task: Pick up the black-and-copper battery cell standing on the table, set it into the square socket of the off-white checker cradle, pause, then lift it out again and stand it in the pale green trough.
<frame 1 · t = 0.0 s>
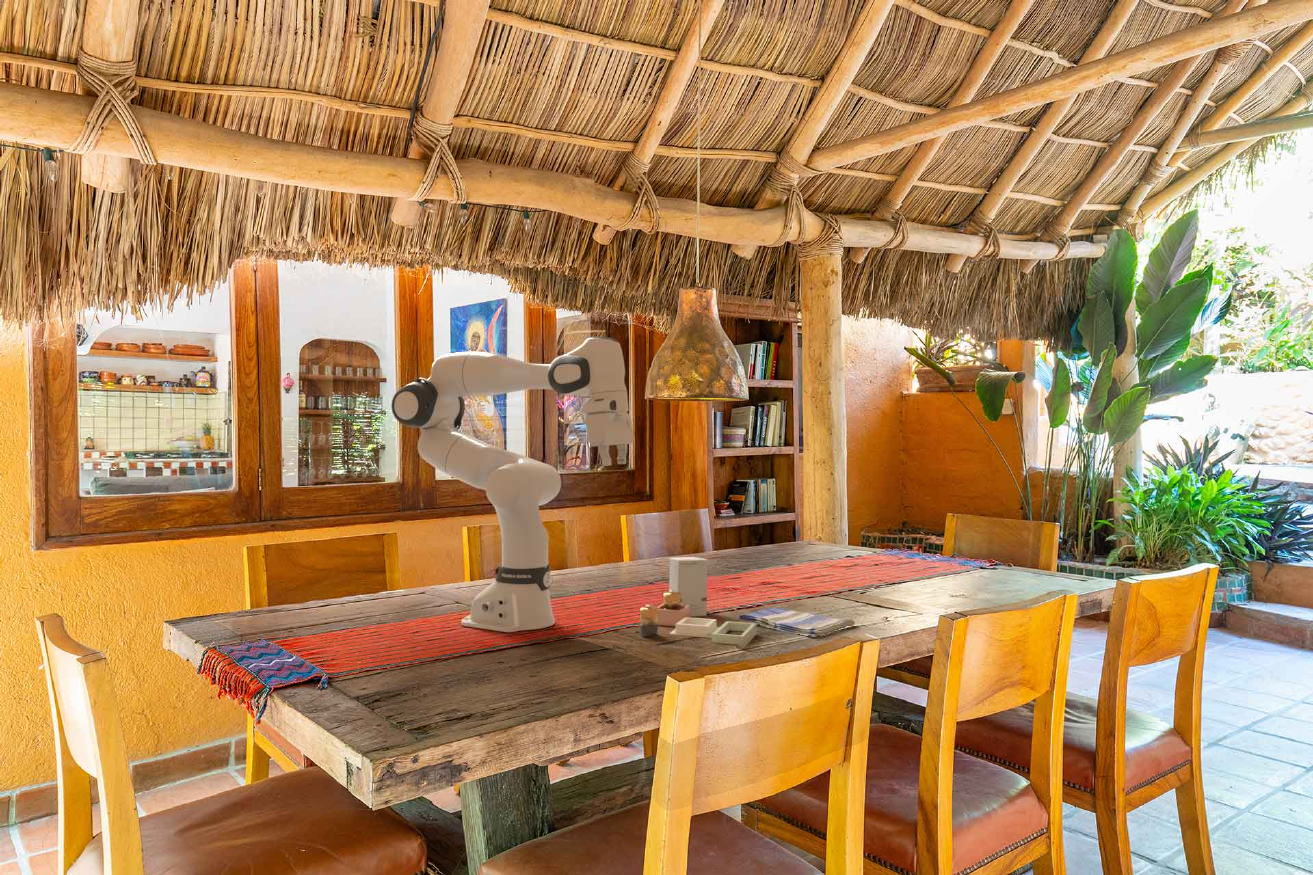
hand: (614, 464, 201), 39 cm above the table, tool pointing down, fingers open, 8 cm apart
dish towel: (796, 627, 209), on the table
cell b: (672, 622, 208), point 1 cm above the table, touching pink open box
cell a: (649, 638, 195), on the table
trough: (734, 640, 194), on the table
cradle: (696, 634, 199), on the table
pink open box: (672, 625, 208), on the table
skincare box: (687, 617, 217), on the table
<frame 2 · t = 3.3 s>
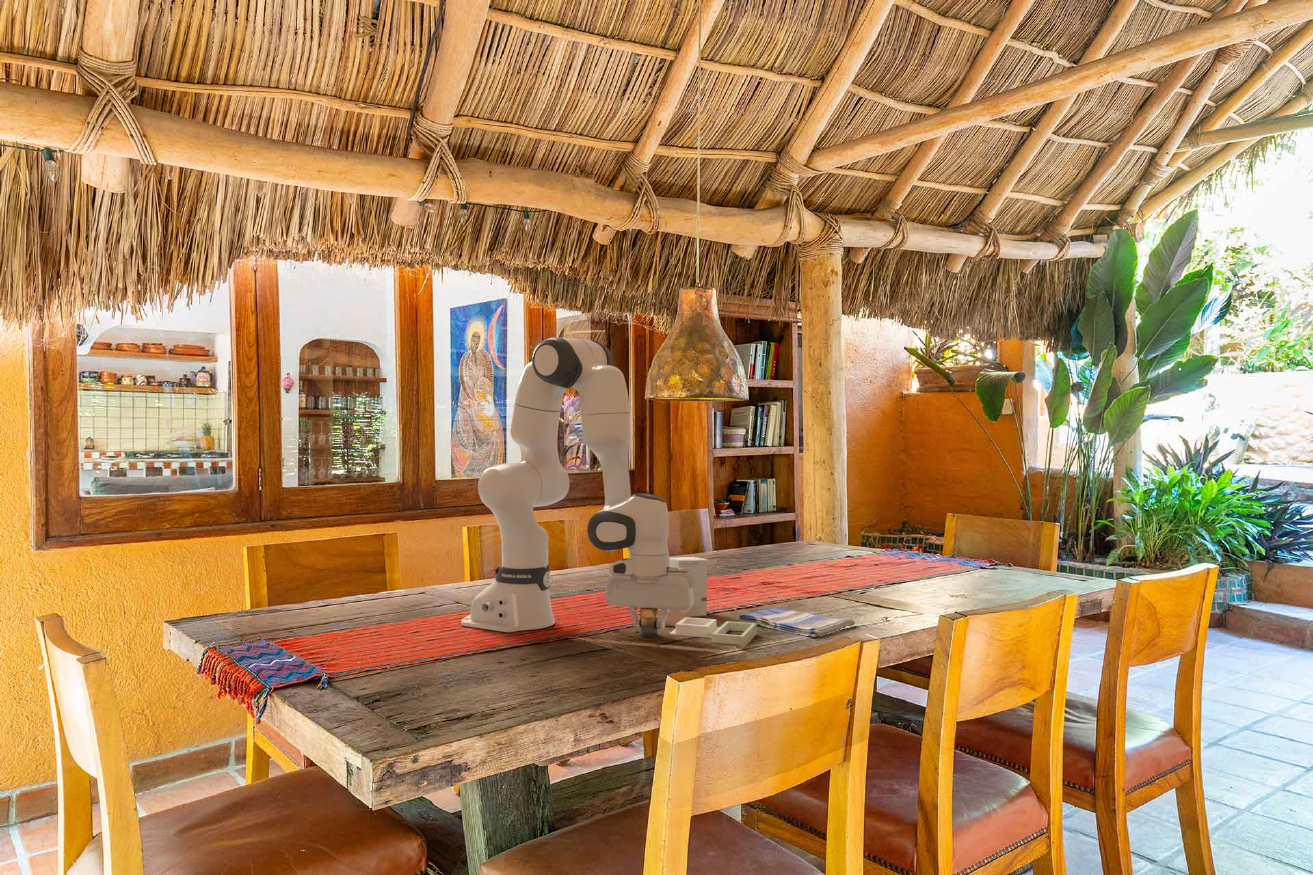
hand: (649, 627, 195), 3 cm above the table, tool pointing down, fingers closed on cell a, 4 cm apart
cell a: (649, 638, 195), on the table, touching gripper
everything else where it was.
when the fingers open (5 cm above the table, at t = 8.0 s): cell a stays where it is, resting on cradle.
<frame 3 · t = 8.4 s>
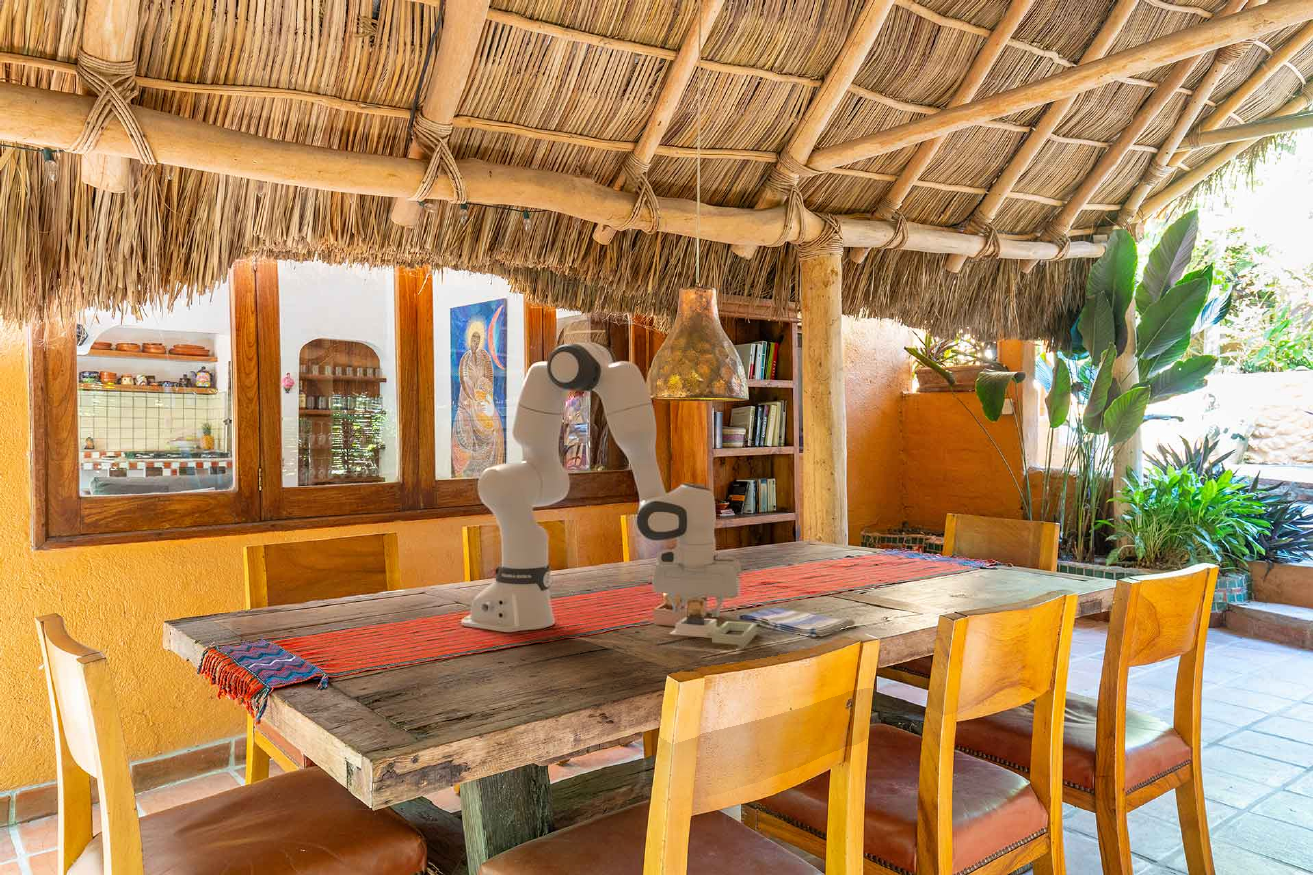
hand: (696, 614, 199), 5 cm above the table, tool pointing down, fingers open, 8 cm apart
cell a: (695, 630, 199), point 1 cm above the table, touching cradle
everything else where it was.
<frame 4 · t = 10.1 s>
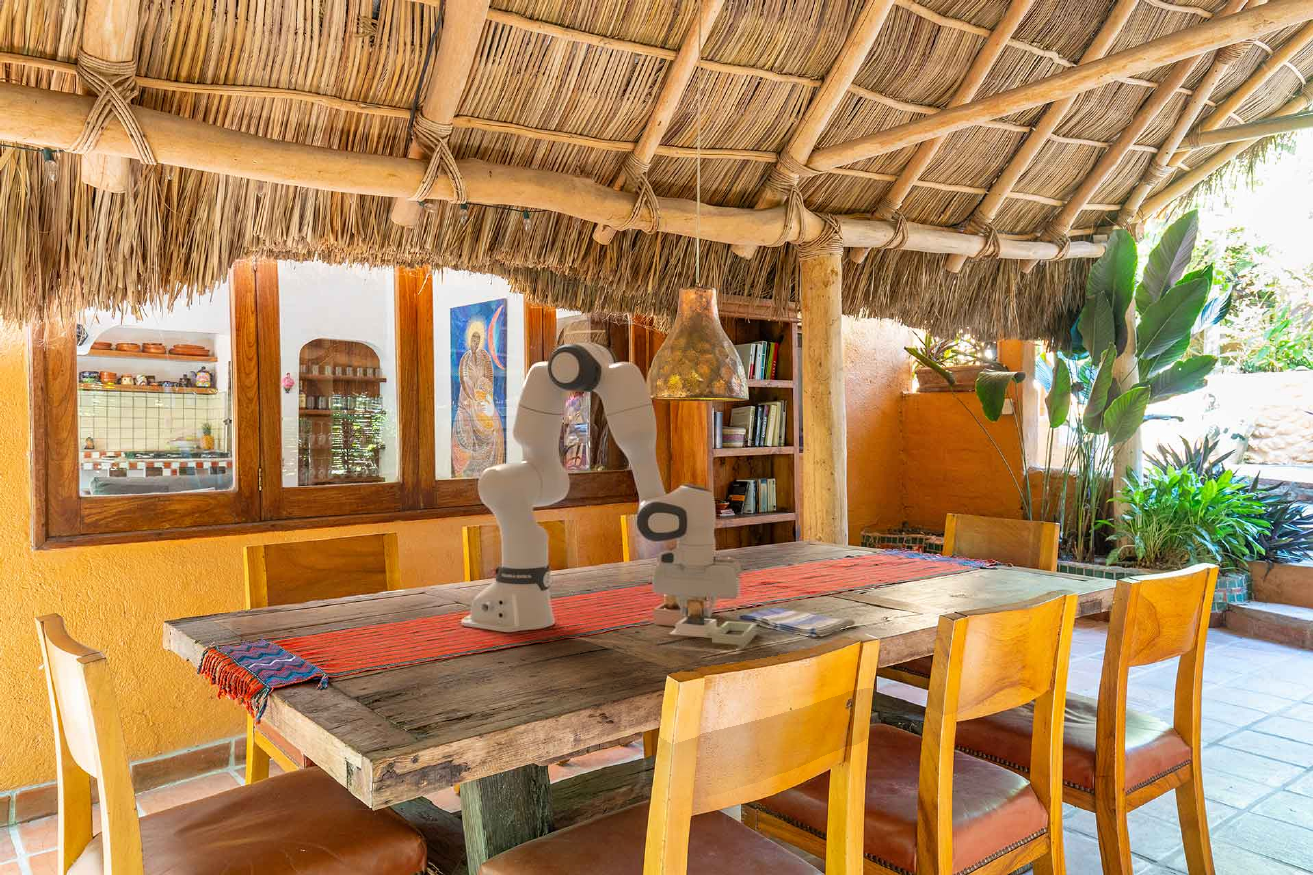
hand: (695, 615, 199), 4 cm above the table, tool pointing down, fingers closed on cell a, 4 cm apart
cell a: (695, 630, 199), point 1 cm above the table, touching cradle, gripper
everything else where it was.
when the fingers open (5 cm above the table, at t = 14.7 s): cell a drops 1 cm, resting on trough.
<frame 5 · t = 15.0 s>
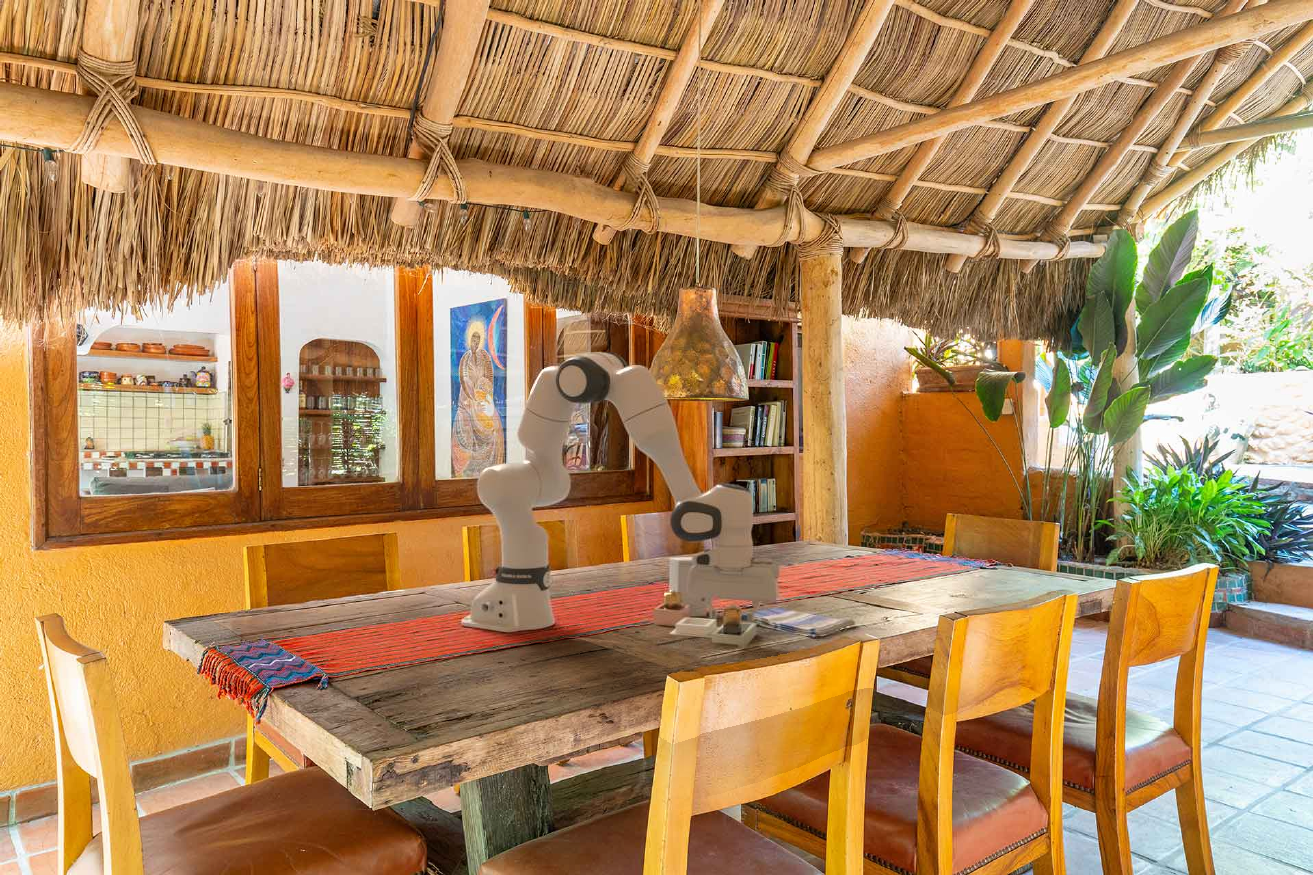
hand: (732, 619, 192), 5 cm above the table, tool pointing down, fingers open, 7 cm apart
cell a: (732, 639, 192), point 1 cm above the table, touching trough
everything else where it was.
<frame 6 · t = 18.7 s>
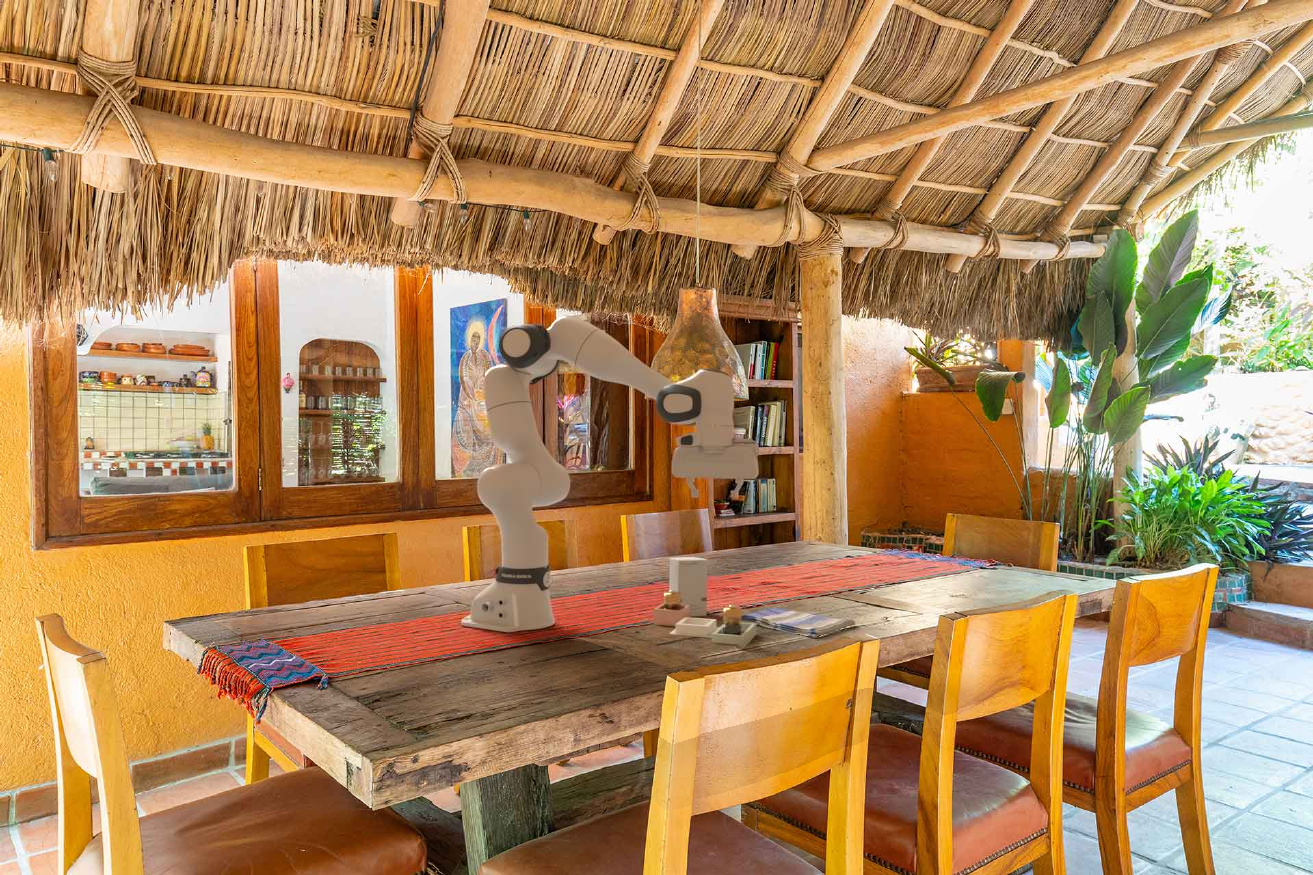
hand: (714, 497, 202), 31 cm above the table, tool pointing down, fingers open, 8 cm apart
nothing on the table moved.
at the end: cell a inside the target area on the trough (2.1 cm from its centre), point 0.6 cm above the trough's base; cell a tilted 0°; the gripper is holding nothing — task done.
